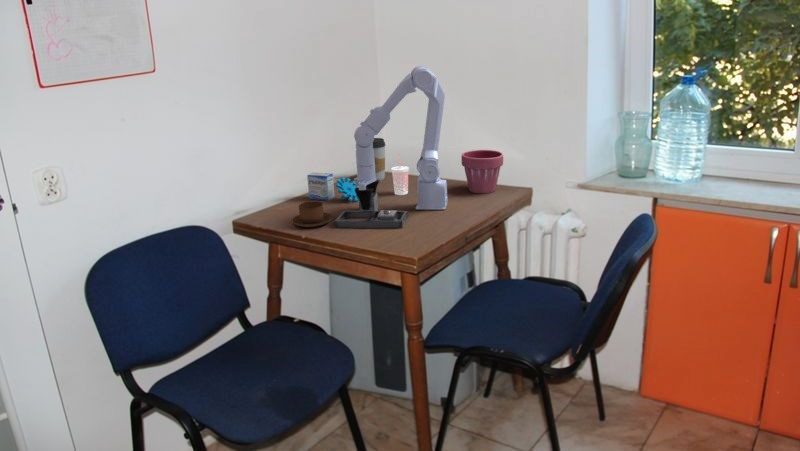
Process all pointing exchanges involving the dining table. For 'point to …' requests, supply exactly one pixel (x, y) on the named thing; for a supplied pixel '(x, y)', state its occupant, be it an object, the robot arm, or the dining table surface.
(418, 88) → the robot arm
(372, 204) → the grey square block
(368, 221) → the grey flat rectangular frame
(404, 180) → the beverage cup
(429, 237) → the dining table surface
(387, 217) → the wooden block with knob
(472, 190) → the plant pot
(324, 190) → the medicine box
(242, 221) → the dining table surface
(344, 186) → the gear
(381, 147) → the coffee cup
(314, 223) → the cup and saucer
